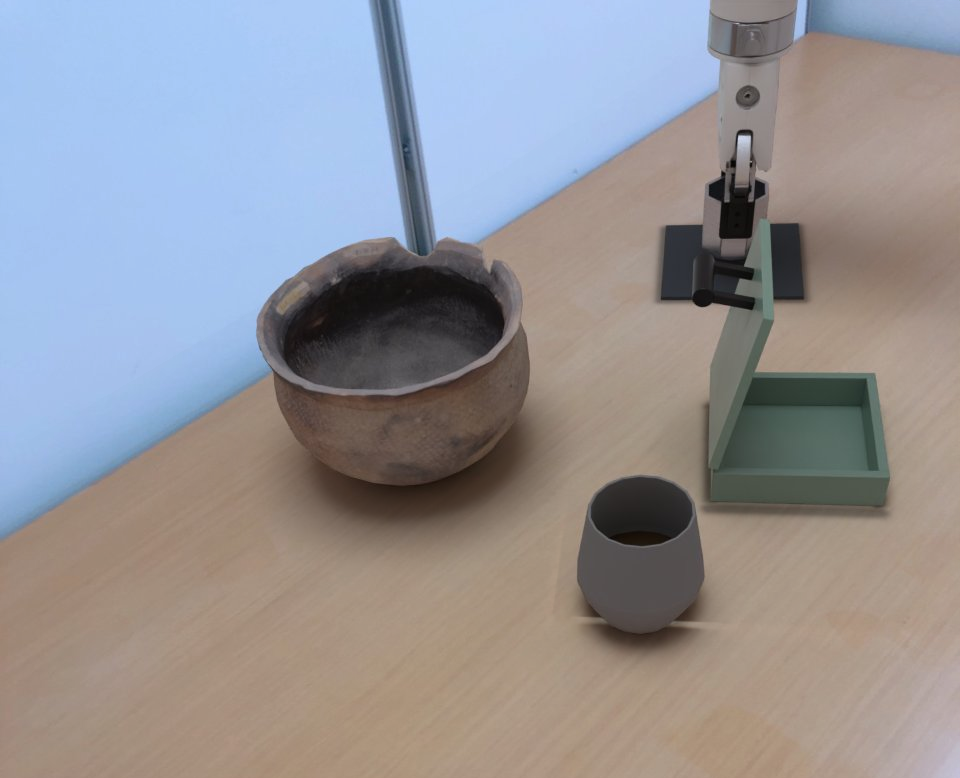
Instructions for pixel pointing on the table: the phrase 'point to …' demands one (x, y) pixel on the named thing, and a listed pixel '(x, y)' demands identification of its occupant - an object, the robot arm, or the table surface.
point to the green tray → (806, 442)
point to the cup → (640, 553)
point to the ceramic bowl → (398, 358)
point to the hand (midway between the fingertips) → (735, 217)
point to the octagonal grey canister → (711, 219)
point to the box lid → (736, 332)
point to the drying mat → (730, 262)
